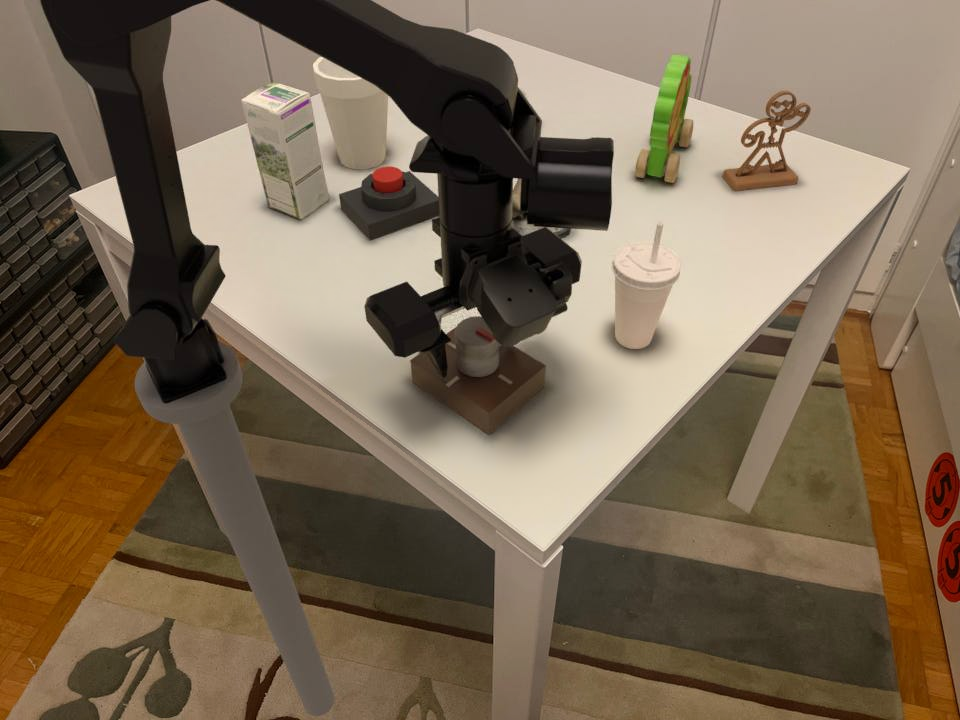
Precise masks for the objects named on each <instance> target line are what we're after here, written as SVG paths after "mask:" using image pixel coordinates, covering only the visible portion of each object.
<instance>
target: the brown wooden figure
mask: <svg viewBox="0 0 960 720" xmlns="http://www.w3.org/2000/svg"><path fill="white" fill-rule="evenodd" d="M782 96H790V97H791V101H790V100H788V99H784V100H783V101H779V100H777V99H779V98H781V97H782ZM797 101H798V100H797V97H796V95H794V93H793V92H792V91H789V90H780V91H778V92H776V93H775V94H773V95H772V96H771V97H770V98H769V100H768V101H767V103H766V106H765V114H766V116H767V117H763V118H760V119H757V120H755V121H753V122H752V123H751V124H749V126H747V128H746V129H745V130H744V131H743V133H742V135H741V138H740V143H741V144H742V146H743V147H744V148H752V147H753V146H755V144H757V145H756V147H755V148H754V149H753V151H752V152H751V153H750V154H749V155H748V157H747V158H746V159H745V161H744V162H743V163H742V165H741V166H740V167H736V168H728V169H726V168H725V169H724V170H723V172H722V178H723V179H724V181H725V182H726V183H727V184H728V186H729V187H730V189H732V191H734V192H738V191H748V190H756V189H757V190H758V189H764V188H765V189H766V188H774V187H781V186H783V187H784V186H792V185H797V184H798V180H799V176H798V175H797V174H796V173H795V171H793V169H792V168H791V167H790V166H789V165H788V163H787V161H786V157H785V154H784V151H783V148H782V145H783V142H784V140H785V135H786V133H790V132H792V131H795V130H797V129H798V128H799V127H801V126H802V125H803V124H804V123H805V122H806V121H807V119H808V118H809V116H810V113H811V106H810V105H809V104H808V103H806V102H800V103H798V104H797ZM771 107H774V108H775V109H777V110H778V109H780V108H781V107H784V108H783V109H782V110H780V111H775V110H774V109H773V108H771ZM802 108H805V111H804V110H803V111H802V110H801V109H802ZM771 113H772V114H773V115H774V116H773V115H772V114H771ZM796 117H800V119H798V121H797V122H796V123H794V124H793V125H791V126H788V127H785V128H782V127H783V126H784V123H785V121H791V120H793V119H795V118H796ZM765 123H767V125H768V127H769V128H770V135H769V136H768V137H767V139H768V141H767V142H764V139H765V136H766V132H765V131H764V130H759V131H757V132H756V133H755V134H751V133H750V132H752V130H753V129H755V128H756V127H757V126H759V125H761V124H765ZM777 126H779V127H781V131H780V134H779V137H778V140H776V137H774V134H776V133H778V128H777ZM746 140H748V141H749V140H750V141H749V142H747V143H746ZM775 140H776V141H775ZM771 148H778V152H779V155H780V156H779V157H780V159H778V160H776V161H775V162H773V163H772V159H771V156H770V153H769V152H768V151H767V150H765V152H764V153H763V155H761V157H760V158H759V159H758V160H757V162H756V163H755V164H754V165H751V164H750V163H751V162H752V161H753V159H754V158H755V157H756V155H758V153H760V151H761V150H762V149H771ZM766 160H767V163H768V164H763V163H764V162H765V161H766ZM762 164H763V165H762Z"/></svg>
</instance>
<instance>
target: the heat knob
mask: <svg viewBox="0 0 960 720" xmlns="http://www.w3.org/2000/svg"><path fill="white" fill-rule="evenodd" d="M455 327H456V330H455V338H456V363H457V367H458V368H459V370H460V371H461V372H462V373H464V374H465V375H468V376H471V377H484V376H488V375H490V374H492V373H493V372H494V371H495V370H496V369H497V368H498V366H499V343H498V342H497V341H496V340H495V338H494V336H493V333H492V332H491V330H490V329H489V327H488V326H487V324H486V323H485V321H484V319H483V318H482V316H481V315H480V316H479V315H478V316H477V315H475V316H470V317H467V318H464V319H462V320H461V321H459V323H457V324H456V326H455Z"/></svg>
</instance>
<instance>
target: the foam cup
mask: <svg viewBox="0 0 960 720" xmlns="http://www.w3.org/2000/svg"><path fill="white" fill-rule="evenodd" d="M312 68H313V69H312V70H313V75H314V81H315V85H316V89H317V91H318V92H319V95H320V98H321V101H322V104H323V107H324V112H325V115H326V118H327V121H328V125H329V128H330V131H331V134H332V138H333V142H334V145H335V148H336V151H337V156H338V158H339V160H340V161H339V162H340V164H342V165H343V166H344V167H346V168H349V169H353V170H369V169H372V168H376V167H377V166H379V165H381V164H383V163H384V161H385V160H386V157H387V155H386V154H387V142H388V141H387V139H388V115H389V114H388V113H389V96H388V95H387V94H386V93H384V92H383V91H382V90H380V89H379V88H378V87H376V86H375V85H373V84H372V83H370V82H368V81H366V80H364V79H362V78H360V77H358V76H357V75H355V74H353V73H351V72H349V71H347V70H345V69H344V68H342V67H340V66H338V65H336V64H334V63H332V62H331V61H329V60H327V59H325V58H323V57H321V56H319V57H318V58H317V59H316V60H315V61H314V63H313V64H312Z"/></svg>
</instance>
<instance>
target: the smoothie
mask: <svg viewBox="0 0 960 720" xmlns="http://www.w3.org/2000/svg"><path fill="white" fill-rule="evenodd" d="M663 228H664V223H663V222H662V221H658V222H657V223H656V227H655V232H654V238H653V242H650V241H636V242H630V243H627V244H624V245H622V246H621V247H619V248H618V249H617V250H616V251H615V253H614V254H613V259H612V261H611V271H612V272H613V275H614V337H615V341H617V343H618V344H619V345H621V346H622V347H623V348H627V349H630V350H641V349H644V348H646V347H648V346H649V345H650V344H651V342H652V339H653V337H654V335H655V331H656V329H657V326H658V325H659V321H660V319H661V316H662V314H663V311H664V309H665V307H666V303H667V300H668V298H669V296H670V294H671V291H672V289H673V285H674V284H676V283H677V281H678V280H679V278H680V275H681V270H682V262H681V258H680V257H679V256H678V254H677V253H675V251H673V250H672V249H670V248H668V247H667V246H664V245H662V244H661V238H662V234H663Z"/></svg>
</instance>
